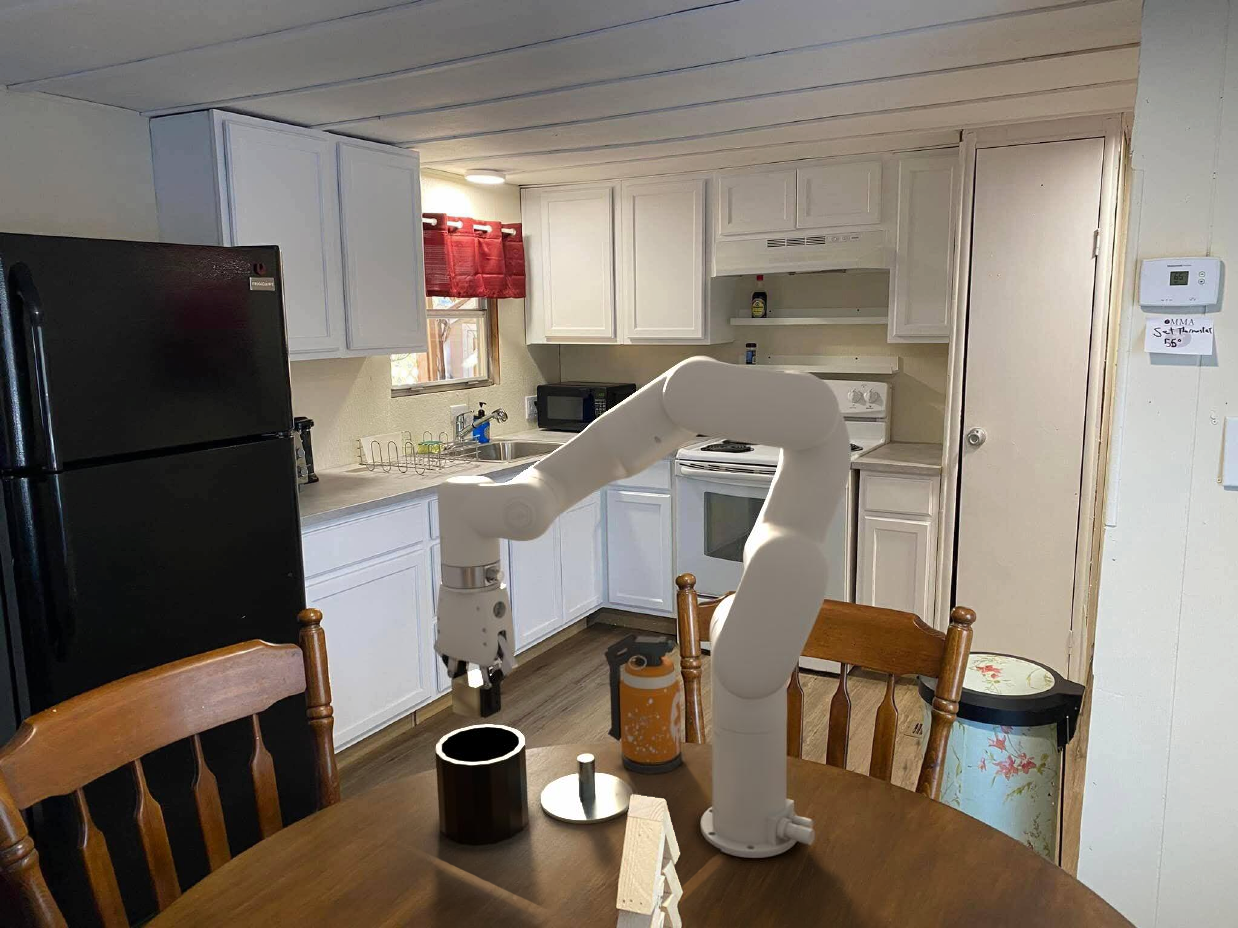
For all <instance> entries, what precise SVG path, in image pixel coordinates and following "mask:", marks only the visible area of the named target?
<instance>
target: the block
mask: <svg viewBox="0 0 1238 928" xmlns="http://www.w3.org/2000/svg"><path fill="white" fill-rule="evenodd" d="M468 672H469V673H467V674H464V675H462V676H460V677H458V678H455V679H453V680H452V686H451V704H452V703H453V706H452V713H455V714H457V715H461V716H463V717H465V718H470V719H472V720H475V721H478V720H480V719H482V718H483V717H481V708H480V688H482V687H484V686H483V683H482V678H481V673H480V670H479V669H473V670H472V671H468ZM491 674H492V673H490V675H491Z"/></svg>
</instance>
